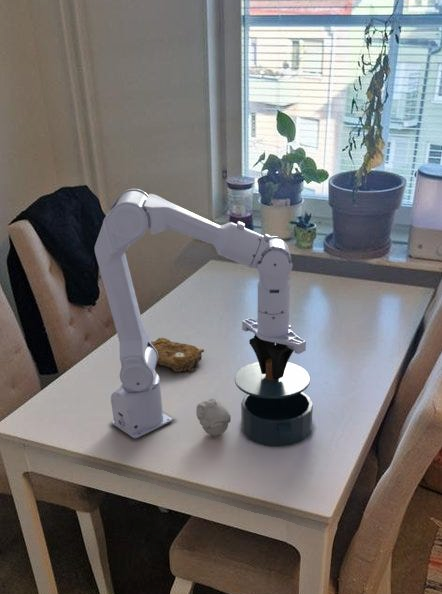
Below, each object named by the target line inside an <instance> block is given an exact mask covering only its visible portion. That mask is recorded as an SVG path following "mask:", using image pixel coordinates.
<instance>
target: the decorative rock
mask: <svg viewBox="0 0 442 594" xmlns="http://www.w3.org/2000/svg"><path fill="white" fill-rule="evenodd" d="M150 342H151V344H152V345H153V346H154V347H155V348H156V350H157V352H158V361H157V364H159V365H160V366H165V367H168V368H170V370H173V371H174V372H175V373H178V372H180V373H182V371H183V372H185V371H189V372H193V371H195V368H198V366H199V364H198V363H199V362H200V361H201V360H202V357H203V355H202V353H204V352H205V350H204V349H203V348H202V349H201V348H198V347H197V346H195V345H192V344H187V343H180V342H176V341H175V342H174V341H170V339H168V338H165V337H158V338H157V339H156V340H155V341H150Z"/></svg>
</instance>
